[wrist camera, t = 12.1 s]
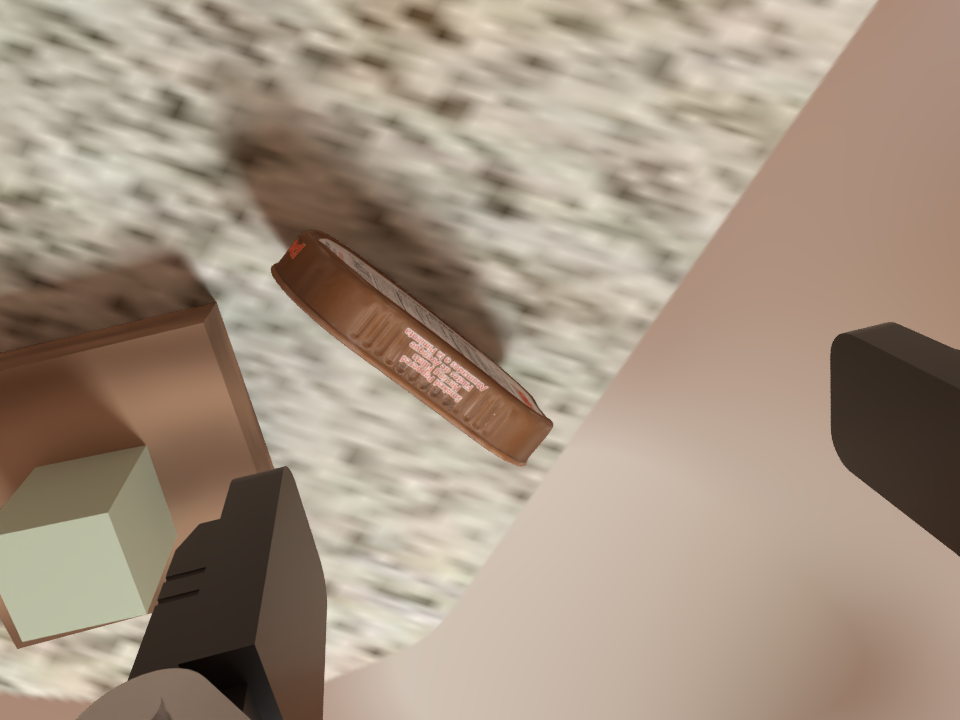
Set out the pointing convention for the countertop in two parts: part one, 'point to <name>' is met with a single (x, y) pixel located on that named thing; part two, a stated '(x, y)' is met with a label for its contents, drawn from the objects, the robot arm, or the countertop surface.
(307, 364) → the countertop surface
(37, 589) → the sage block
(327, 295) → the tin
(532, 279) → the countertop surface
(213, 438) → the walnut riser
